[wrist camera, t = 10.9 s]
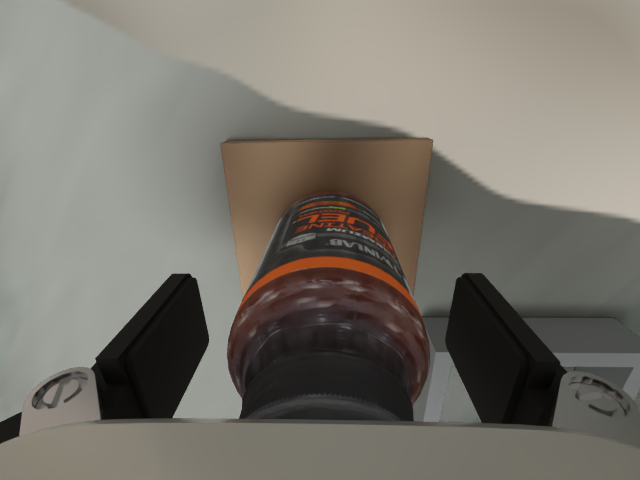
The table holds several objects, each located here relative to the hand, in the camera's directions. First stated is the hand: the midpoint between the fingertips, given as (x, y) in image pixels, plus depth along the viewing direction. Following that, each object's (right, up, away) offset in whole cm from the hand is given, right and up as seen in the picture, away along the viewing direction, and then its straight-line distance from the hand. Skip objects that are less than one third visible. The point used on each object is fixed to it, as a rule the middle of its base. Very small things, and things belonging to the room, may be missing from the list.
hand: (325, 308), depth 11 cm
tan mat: (0, +3, +6) cm, 7 cm away
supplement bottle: (0, +2, +6) cm, 6 cm away
